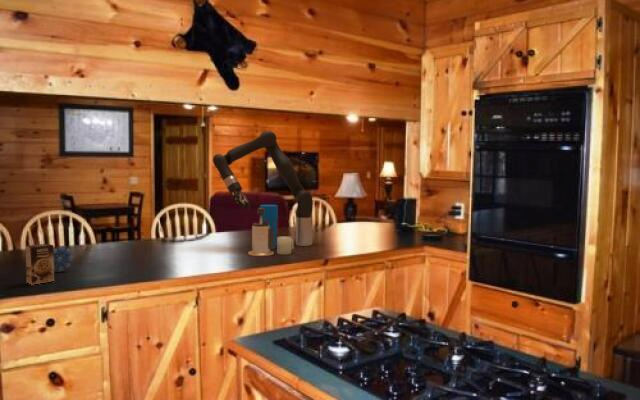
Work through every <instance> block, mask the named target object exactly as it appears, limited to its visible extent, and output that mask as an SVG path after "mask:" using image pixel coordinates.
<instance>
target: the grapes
mask: <svg viewBox="0 0 640 400" xmlns="http://www.w3.org/2000/svg"><path fill="white" fill-rule="evenodd" d="M71 253H72V250H71V248H67V249H66V247H65V246H62V245H61V246H59V247H58V248H53V255H54V273H55V272H56V271H58V273H62V272H64V270H65V269H68V268H69V267H70V266H71V261H73V259H74V256H73V254H71ZM61 271H62V272H61Z"/></svg>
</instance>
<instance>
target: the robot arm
mask: <svg viewBox="0 0 640 400" xmlns="http://www.w3.org/2000/svg"><path fill="white" fill-rule="evenodd" d="M264 148H265V150H266V151H267V153H268V154H269V156H270V158H271V160H272V163H273V164H274V165H275V168H276V170H277V171H278V174H279V175H280V177H281V178H282V180H283V181H284V183H286V185H287V187H288V188H289V190H290V192H291V194H292V197H293V198H294V200H295V202H296V204H297V211H296V212H295V245H296V246H298V247H299V246H300V247H303V246H304V247H307V246H309V247H310V246H312V245H313V229H312V213H313V201H314V200H313V196H312V193H311V192H309V191H307V190H305V188H304V187H303V185H302V184H301V182H300V179H299V177H298V174H297V171H296V169H295V167H294V165H293V163H292V162H291V160H290V159H289V158H288V157H287V155H286V154H285V153H284V152H283V151H282V149H281V147H280V146H279V144H278V142H277V135H276V133H275V132H274V131H271V130H264V131H262V132H261V134H260V135H259V136H257V137H256V138H255V139H253V140H251V141H248V142H245V143H242V144H240V145H238V146H235V147H233V148H231V149H229V150H228V151H227V153H226V154H224V155H223V154H220V153H217V154H215V155H214V156H213V157H212V163H213V165H214V168H216V169H217V170H218V172H219V175H220V178H221V179H222V180H223V182H224V186H225V187H226V189H227V191H228V192H229V194H230V195H231V197H232V198H233V201H234V202H235V203H236V204H238V206H239V208H240V210H242V209H244V208H246V210H247V211H248V210H250V209H252V208H251V205H250V203H249V202H250V201H249V199H248V198H247V196H246V194H245V193H243V192H242V190H243V187H242V186H241V183H240V182H239V180H238V178H237V177H236V176H235V174H234V172H233V170H232V169H231V168H230V165H231V164H233V163H234V162H236V161H238V160H240V159H242V158H244V157H246V156H248V155H250V154H252V153H253V152H256V151H258V150H261V149H264Z"/></svg>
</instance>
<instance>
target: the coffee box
mask: <svg viewBox="0 0 640 400" xmlns="http://www.w3.org/2000/svg"><path fill="white" fill-rule="evenodd" d="M53 249H54V245H53V244H51V243H42V244H32V245H31V244H30V245H25V264H26V265H25V266H26V267H25V271H26V272H25V274H26V275H25V276H26V284H27V283H29V284H28V285H30V284H31V285H30V286H32V285H33V286H35V285H34V284H39V285H41V284H40V283H46V282H51V281H54V282H55V272H54V255H53ZM46 284H47V283H46Z"/></svg>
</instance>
